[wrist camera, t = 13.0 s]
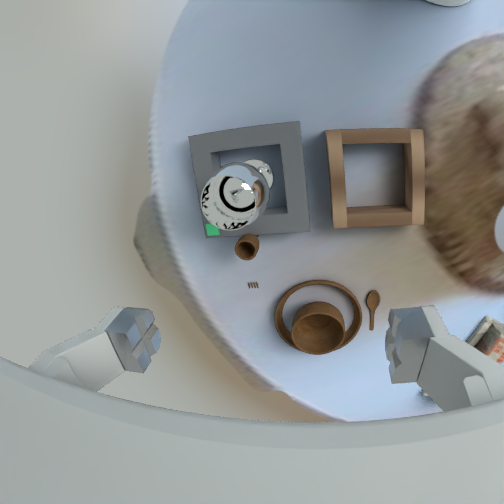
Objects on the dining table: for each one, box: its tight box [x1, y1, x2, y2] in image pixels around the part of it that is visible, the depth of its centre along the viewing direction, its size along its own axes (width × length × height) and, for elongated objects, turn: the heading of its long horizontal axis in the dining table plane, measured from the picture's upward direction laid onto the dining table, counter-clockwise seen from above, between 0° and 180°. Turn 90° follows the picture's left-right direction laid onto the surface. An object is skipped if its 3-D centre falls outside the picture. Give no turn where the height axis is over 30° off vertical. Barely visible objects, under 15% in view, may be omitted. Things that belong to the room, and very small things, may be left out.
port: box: [188, 121, 310, 238], centre depth 34 cm, size 12×12×3 cm
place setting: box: [235, 234, 380, 355], centre depth 38 cm, size 18×20×6 cm
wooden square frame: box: [325, 128, 425, 229], centre depth 31 cm, size 11×11×3 cm
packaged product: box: [422, 315, 504, 397], centre depth 38 cm, size 18×5×10 cm
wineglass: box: [201, 159, 273, 231], centre depth 30 cm, size 6×6×12 cm
